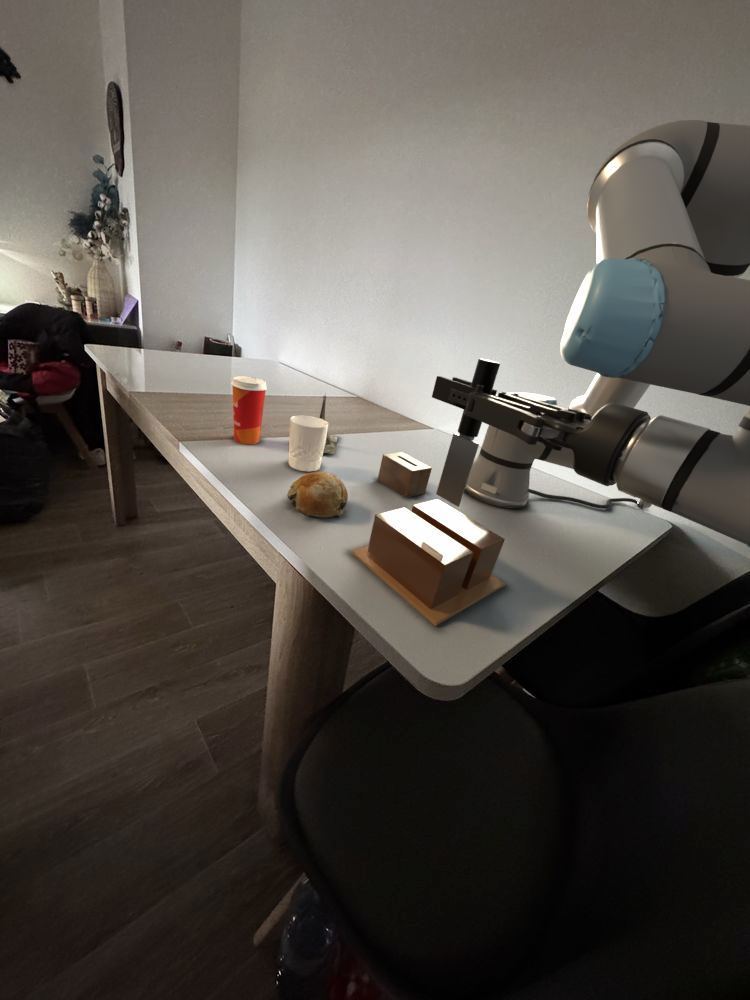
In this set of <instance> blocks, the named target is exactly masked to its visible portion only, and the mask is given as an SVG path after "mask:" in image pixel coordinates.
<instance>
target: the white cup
mask: <svg viewBox="0 0 750 1000" xmlns="http://www.w3.org/2000/svg"><path fill="white" fill-rule="evenodd" d="M329 426H330V425H329V422H328V421H326V419H325V420H323V419H320V418H319V417H316V416H312V415H302V414H301V415H299V414H298V415H293V416H291V417H290V418H289V435H288V436H289V437H288V439H289V440H288V453H289V454H288V465H289V466H290V467H291V468H292V469H294V470H297V471H301V472H307V473H310V472H317V471H318V470H320V468H321V465H322V464H321V463H322V460H323V459H322V458H323V455H324V453H323V451H324V446H325V442H326V436H327V432H329V431H328V430H329Z"/></svg>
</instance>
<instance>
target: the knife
mask: <svg viewBox="0 0 750 1000" xmlns="http://www.w3.org/2000/svg"><path fill="white" fill-rule="evenodd" d="M500 366H501V362H498V361H494V360H492V359H491V360H490V359H485V358H478V359H477V363H476V366H475V370H474V373H473V376H472V380H471V382H472V383H471V386H472V387H475V388H476V386H477V385H483V386H484V389H483V393H486V394H489V395H491V392H492V389H494V386H495V382H496V379H497V376H498V373H499V370H500ZM464 413H465V410H464V409H463V411H462V415H461V417H460V421H459V425H458V427H457V433H458V434H457V433H455V432H453V433H452V438H451V441H450V444H449V448H448V451H447V453H446V458H445V461H444V465H443V468H442V469H443V470H442V471H441V475H440V479H439V482H438V485H437V489H436V494H435V495H437V496H438V497H440V498H442V499H443V500H445V501H447V502H449V503H451V504H452V505H454V506H455V507H457V508H459V507H460V505H461V502H462V500H463V497H464V493H465V487H466V484H467V481H468V477H469V474H470V471H471V468H472V465H473V463H474V461H475V460H476V456H477V453H478V450H479V446H480V443H479V442H476V441H474V440H475V438H477V437H479V434H480V430H481V427H482V424H483V422H481V421H479V420H476V419H474V418H472V417H468V416H467V415H465V414H464Z"/></svg>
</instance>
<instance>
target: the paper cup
mask: <svg viewBox="0 0 750 1000" xmlns="http://www.w3.org/2000/svg"><path fill="white" fill-rule="evenodd" d="M230 386H232V415H233V417H232V419H233V421H232V422H233V438H234V439H233V440H234V441H235V442H237V443H239V444H242V445H256V444H258V443H259V442H260V438H261V431H262V422H263V415H264V406H265V401H266V400H265V399H266V393H267V390H268V386H267V383H266V381H265V379H261V378H256V377H253V376H251V377H250V376H246V375H245V376H243V375H238V376H237V375H236V376H234V377H233V378H232V381H231V383H230Z"/></svg>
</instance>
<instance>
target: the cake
mask: <svg viewBox="0 0 750 1000" xmlns="http://www.w3.org/2000/svg"><path fill="white" fill-rule="evenodd" d="M505 539H506V538H504V537H503V536H501V535H500V534H498V533H496V532H494V531H493V530H491V529H489V528H487V527H486V526H484V525H483V524H482V523H479V522H477V521H475V520H474V519H472V518H470V517H469V516H467V515H466V514H464V513H462V512H461V511H460V510H457V509H456V508H454V507H452V506H450V505H449V504H447V503H446V502H444V501H442V500H440V499H438V498H436V499H432V500H427V501H424V502H419V503H415V504H413V505H412V506H411V510H409V509H408V508H407V507H400V508H396V509H392V510H388V511H385V512H381V513H376V514H374V518H373V524H372V528H371V532H370V537H369V541H368V545H364V546H362V547H359V548H358V547H357V548H355V549H352V551H351V554H352V555H353V556H354V557H355V558H356V559H357V560H359V561H360V562H361V563H362V564H363V565H364V566H365V567H366V568H368V569H369V570H370V571H371V572H372V573H373V574H375V575H376V576H377V577H378V578H379V579H380V580H382V581H383V582H384V583H385V584H386V585H387V586H389V587H390V588H391V589H392V590H393V591H394V592H395V593H396V594H398V596H400V597H401V598H403V599H404V600H405V601H406V602H407V604H409V605H411V606H412V607H413V608H414V609H415V610H416V611H417V612H419V614H421V615H422V616H423V617H424V618H425V619H426V620H428V622H430V623H431V624H433V626H435V627H438V625H440V624H442V623H444V622H445V621H447V620H449V619H450V618H452V617H454V616H456V615H457V614H459V613H461V612H462V611H464V610H466V609H467V608H469V607H471V606H472V605H474V604H477V603H478V602H480V601H481V600H482V599H485V598H487V597H488V596H489V595H491V594H493V593H495V592H497V591H498V590H500V589H501V588H503V587H505V582H504V581H502V580H501V579H500V578H498V577H497V576H495V575H494V574H493V571H494V568H495V565H496V564H497V561H498V558H499V556H500V553H501V551H502V548H503V546H504V544H505Z"/></svg>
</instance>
